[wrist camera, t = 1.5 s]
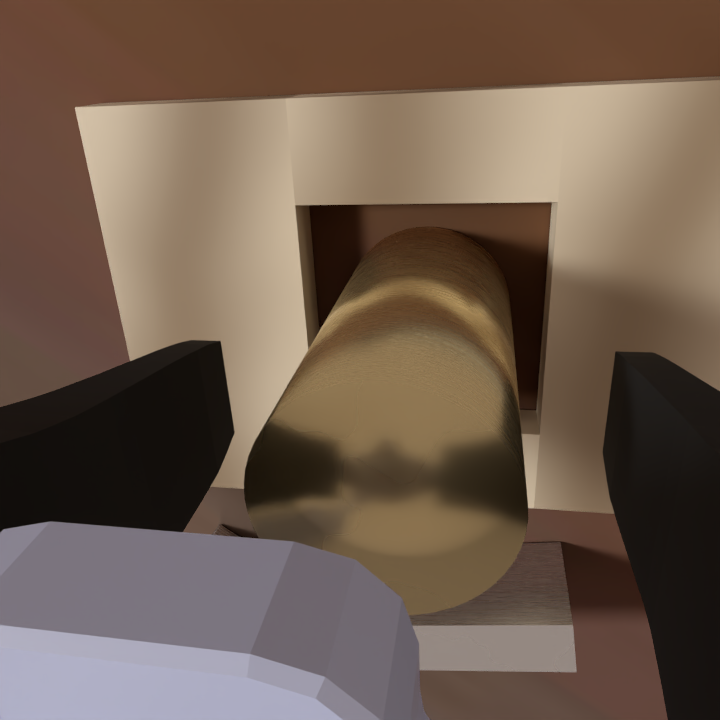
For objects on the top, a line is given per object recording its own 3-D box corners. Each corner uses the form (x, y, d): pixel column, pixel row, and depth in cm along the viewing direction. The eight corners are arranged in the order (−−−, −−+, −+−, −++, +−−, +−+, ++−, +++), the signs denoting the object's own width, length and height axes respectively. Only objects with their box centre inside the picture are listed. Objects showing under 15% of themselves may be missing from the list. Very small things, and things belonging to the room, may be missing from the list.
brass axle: (506, 381, 17) (519, 627, 10) (352, 375, 17) (260, 602, 10) (514, 226, 15) (538, 387, 8) (343, 227, 16) (226, 376, 9)
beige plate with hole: (816, 72, 13) (845, 74, 12) (721, 492, 17) (736, 521, 16) (103, 103, 15) (74, 107, 14) (174, 459, 20) (157, 483, 19)
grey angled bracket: (591, 563, 19) (608, 649, 16) (297, 798, 26) (275, 883, 23) (329, 383, 18) (300, 443, 15) (99, 680, 25) (53, 756, 22)
